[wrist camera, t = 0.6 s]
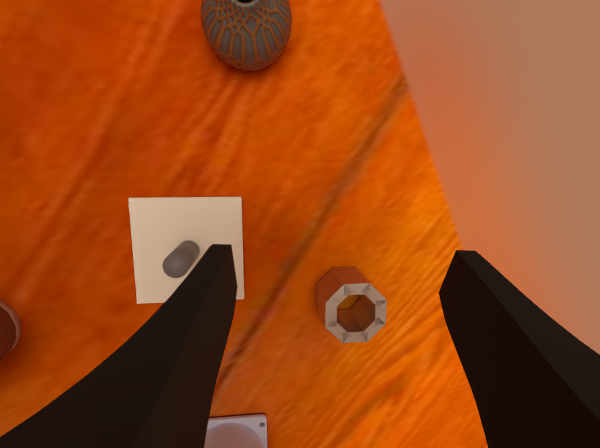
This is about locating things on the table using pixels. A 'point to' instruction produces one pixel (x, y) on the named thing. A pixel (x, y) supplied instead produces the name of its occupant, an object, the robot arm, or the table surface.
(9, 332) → the coffee cup
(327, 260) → the table surface
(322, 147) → the table surface
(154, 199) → the post stand
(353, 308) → the collar
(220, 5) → the vase
